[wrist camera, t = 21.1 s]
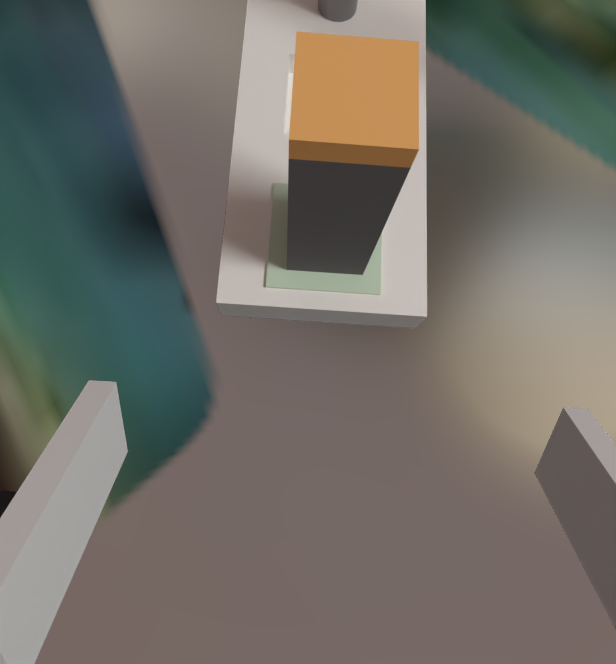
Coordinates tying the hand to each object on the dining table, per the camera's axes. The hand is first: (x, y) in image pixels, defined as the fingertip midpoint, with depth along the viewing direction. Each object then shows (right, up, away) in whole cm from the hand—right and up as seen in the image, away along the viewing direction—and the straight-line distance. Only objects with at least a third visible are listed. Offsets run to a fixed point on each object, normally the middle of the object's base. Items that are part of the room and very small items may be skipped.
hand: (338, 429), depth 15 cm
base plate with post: (0, +14, +16) cm, 21 cm away
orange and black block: (0, +8, +11) cm, 14 cm away
